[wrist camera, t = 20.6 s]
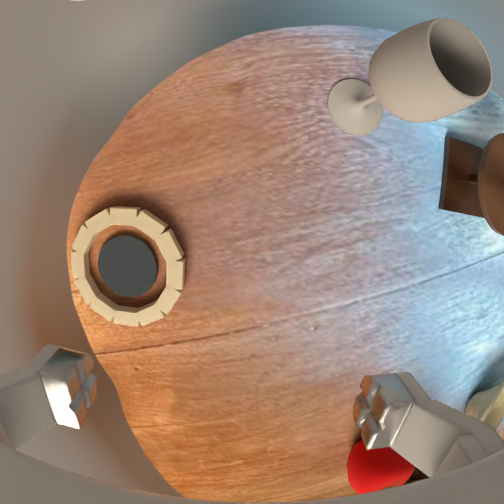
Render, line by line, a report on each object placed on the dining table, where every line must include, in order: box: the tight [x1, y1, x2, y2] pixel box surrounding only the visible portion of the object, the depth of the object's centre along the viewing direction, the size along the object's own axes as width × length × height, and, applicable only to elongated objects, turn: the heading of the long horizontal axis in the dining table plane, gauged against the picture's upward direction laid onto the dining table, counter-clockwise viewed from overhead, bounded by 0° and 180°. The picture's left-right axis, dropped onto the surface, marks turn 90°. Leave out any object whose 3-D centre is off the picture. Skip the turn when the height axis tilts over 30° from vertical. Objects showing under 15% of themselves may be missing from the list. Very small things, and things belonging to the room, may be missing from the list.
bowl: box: [464, 380, 504, 431], centre depth 43 cm, size 15×14×10 cm
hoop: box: [71, 206, 185, 327], centre depth 37 cm, size 15×15×2 cm
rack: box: [439, 133, 504, 236], centre depth 29 cm, size 13×13×15 cm
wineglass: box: [327, 18, 493, 135], centre depth 24 cm, size 8×8×21 cm
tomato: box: [347, 440, 415, 494], centre depth 43 cm, size 12×14×12 cm
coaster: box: [98, 235, 158, 297], centre depth 37 cm, size 8×8×1 cm
